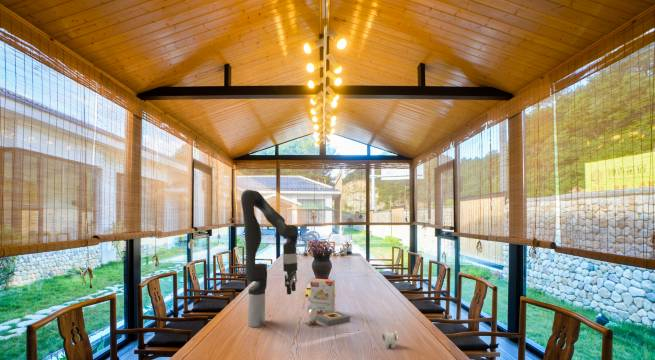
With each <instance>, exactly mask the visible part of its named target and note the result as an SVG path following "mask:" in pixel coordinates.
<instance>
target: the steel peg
mask: <svg viewBox="0 0 655 360" xmlns="http://www.w3.org/2000/svg"><path fill="white" fill-rule="evenodd" d="M308 311H309V312H308V313H309V315H308V319H309V320H308V322H309V325H311V326H315V325H317V323H318V321H317V315H318V313H317V309H314V308H312V309H310V308H309V309H308Z"/></svg>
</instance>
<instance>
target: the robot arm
mask: <svg viewBox="0 0 655 360" xmlns="http://www.w3.org/2000/svg"><path fill="white" fill-rule="evenodd" d="M240 203H241V208H242V214H243V216H242V217H243V226H244V243H245V278H246V280H247V281H248V282H250V283H252V282H254V283H253V284H252V286H250V287H249V288H248V296H247V297H248V302H247V303H248V305H247V306H248V307H247V308H248V310H247V312H248V313H247V314H248V315H247V316H248V317H247V319H248V320H247V326H248V327H250V328H258V327H259V328H260V327H263V326H265V324H266V290H267V285H268V284H267V283H268V270H267V269H268V267H267V266H266V265H265V263H256V255H257V252H258V250H259V248H260V246H261V243H262V229H261V225H260V223H259V222H258V218H257V217H256V214H255V208H257V209H258V210H260V212H262V214H263V216H264V217H265V219H266V221H267V222H268V223H270V224H271V226H273V227H274V228H275V230H276V231H277V233H278V234H279V235H280V236H281V237H282V238H285V239H286V242H285V243H283V244H282V246H283V247H282V249H283V253H282V254H283V256H282V261H283V262H282V265H283V272H286V274H285V275H284V287H285V288H286V295H291V294H292V292H296V290H297V289H296V285H297V281H298V278H297V271H298V255H297V242H298V237H299V230H298V227H297V226H296V225H295V224H287V223H286V220H285V218H284V217H283V216H282V215H281V214H279V212H278V211H276V210H275V209H274V208H273V207H272V205H270V204H269V202H268V201H267V200H266V199H265V197H264V196H263V194H261V193H260V192H259V191H257V190H252V189H245V190H243V192H242V193H241V195H240Z"/></svg>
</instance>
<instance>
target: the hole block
mask: <svg viewBox="0 0 655 360" xmlns="http://www.w3.org/2000/svg"><path fill="white" fill-rule="evenodd" d="M350 321H351V317H350V315H348V314H345V313H343V312H340V311H337V310H336V311H335V312H331V313H326V314H322V313H320V314H317V322H318V323H320V324H322V325H323V324H324V326H332V325H333V326H334V325H336V324H337V325H338V324H342V323H347V322H350Z"/></svg>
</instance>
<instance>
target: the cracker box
mask: <svg viewBox="0 0 655 360" xmlns="http://www.w3.org/2000/svg"><path fill="white" fill-rule="evenodd" d="M335 283H336V281H335V279H328V278H326V279H324V278H313V279H311V280H310V298H309V299H310V308H309V309H312V308H314V309H317V314H326V313H331V312H336V311H335V310H336V307H335V306H336V304H335V303H336V302H335V301H336V300H335V299H336V296H335V295H336V293H335V292H336V291H335V290H336V289H335V288H336V287H335V286H336V285H335Z"/></svg>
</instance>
